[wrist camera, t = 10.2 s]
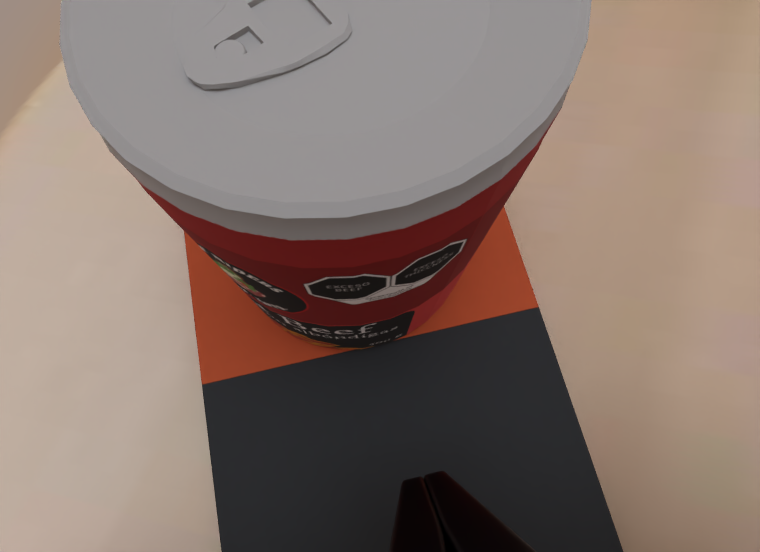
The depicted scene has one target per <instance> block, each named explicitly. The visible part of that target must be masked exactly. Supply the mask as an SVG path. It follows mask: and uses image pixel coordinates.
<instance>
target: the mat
mask: <svg viewBox="0 0 760 552" xmlns="http://www.w3.org/2000/svg"><path fill="white" fill-rule="evenodd" d="M202 388H203V397H204V405H205V414H206V422H207V431H208V439H209V448H210V456H211V465H212V473H213V482H214V490H215V499H216V507H217V516H218V524H219V533H220V542H221V550H222V552H389V549H390V544H391V538H392V533H393V527H394V522H395V516H396V511H397V505H398V500H399V494H400V489H401V484H402V482H403V481H404V480H407V479H411V478H415V477H419V476H421V477H422V478H423V479H424V476H425V475H427V474H430V473H434V472H438V471H444V472H446V473H447V474H448V475H449V476H451V477H452V478H453V479H454V480H455V481H456V482H457V483H459V484H460V485H461V486H462V487H463V488H464V489H465V490H467V491H468V492H469V493H470V494H471V495H472V496H473V497H475V498H476V499H477V500H478V501H479V502H480V503H481V504H483V505H484V506H485V507H486V508H487V509H488V510H490V511H491V512H492V513H493V514H494V515H495V516H496V517H498V518H499V519H500V520H501V521H502V522H503V523H504V524H506V525H507V526H508V527H509V528H510V529H511V530H512V531H514V532H515V533H516V534H517V535H518V536H519V537H520V538H522V539H523V540H524V541H525V542H526V543H527V544H528V545H530V546H531V547H532V548H533V549H534V550H535V551H536V552H623V550H622V547H621V544H620V541H619V538H618V535H617V532H616V529H615V526H614V524H613V521H612V518H611V515H610V512H609V509H608V506H607V503H606V500H605V498H604V495H603V492H602V489H601V486H600V483H599V480H598V477H597V474H596V471H595V469H594V466H593V463H592V460H591V457H590V454H589V451H588V448H587V445H586V443H585V440H584V437H583V434H582V431H581V428H580V425H579V422H578V419H577V417H576V414H575V411H574V408H573V405H572V402H571V399H570V396H569V393H568V390H567V388H566V385H565V382H564V379H563V376H562V373H561V370H560V367H559V364H558V362H557V359H556V356H555V353H554V350H553V347H552V344H551V341H550V338H549V336H548V333H547V330H546V327H545V324H544V321H543V318H542V315H541V312H540V310H539V307H537V308H532V309H528V310H524V311H519V312H515V313H511V314H506V315H502V316H498V317H493V318H489V319H485V320H480V321H476V322H472V323H467V324H463V325H459V326H455V327H450V328H446V329H442V330H437V331H433V332H429V333H424V334H420V335H416V336H411V337H407V338H403V339H398V340H394V341H391V342H389V343H387V344H383V345H378V346H374V347H369V348H365V349H355V350H351V351H346V352H342V353H338V354H333V355H329V356H325V357H320V358H316V359H312V360H307V361H303V362H299V363H294V364H290V365H286V366H281V367H277V368H273V369H268V370H264V371H260V372H255V373H251V374H247V375H242V376H238V377H234V378H229V379H225V380H221V381H216V382H212V383H208V384H203V385H202Z"/></svg>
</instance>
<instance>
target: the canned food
mask: <svg viewBox="0 0 760 552" xmlns="http://www.w3.org/2000/svg"><path fill="white" fill-rule="evenodd" d="M591 1H592V0H62V2H61V17H60V19H61V20H60V48H61V52H62V56H63V60H64V65H65V69H66V73H67V77H68V81H69V85H70V87H71V89H72V91H73V93H74V94H75V96H76V98H77V100H78V101H79V103H80V105H81V107H82V109H83V110H84V112H85V114H86V116H87V117H88V119H89V121H90V123H91V124H92V126H93V127H94V128H95V129H96V130H97V131H98V132H99V133H100V135H101V136H102V138H103V140H104V142H105V143H106V145H107V147H108V149H109V151H110V152H111V153H112V154H113V155H114V156H115V157H116V158H117V159H118V160H119V162H120V163H121V164H122V165H123V166H124V167H125V168H126V169H127V170H128V171H129V172H130V173H131V174H132V175H133V176H134V177H135V178H136V179H137V180H138V182H139V183H140V184H141V186H142V187H143V188H144V190H145V191H146V192H147V193H148V194H149V195H150V196H151V197H152V198H153V199H154V200H155V201H156V202H157V203H158V204H159V205H160V206H161V207H162V208H163V209H164V210H165V212H166V213H167V214H168V215H169V216H170V217H171V218H172V219H173V220H174V221H175V222H176V223H177V224H178V225H179V226H180V227H181V228H182V229H183V230H184V231H185V232H186V233H187V234H188V235H189V236H190V237H191V238H192V239H193V240H194V241H195V242H196V243H197V244H198V245H199V246H200V247H201V248H202V249H203V250H204V251H205V252H206V254H207V255H208V256H209V257H210V258H211V259H212V260H213V261H214V262H215V263H216V264H217V265H218V266H219V267H220V268H221V269H222V270H223V271H224V272H225V273H226V274H227V275H228V276H229V277H230V278H231V279H232V280H233V281H234V282H235V283H236V284H237V285H238V286H239V287H240V288H241V289H242V290H243V291H244V292H245V293H246V294H247V295H248V296H249V297H250V298H251V299H252V300H253V301H254V303H255V304H256V305H257V306H258V307H259V308H260V309H261V310H262V311H263V312H264V313H265V314H266V315H267V316H268V317H269V318H270V319H271V320H272V321H273V322H274V323H275V324H276V325H277V326H279V327H280V328H282V329H283V330H285V331H286V332H288V333H289V334H291V335H292V336H294V337H295V338H298V339H301V340H303V341H306V342H308V343H311V344H313V345H316V346H321V347H327V348H333V349H338V350H343V349H365V348H369V347H374V346H378V345H383V344H387V343H389V342H391V341H394V340H396V339H398V338H400V337H403V336H405V335H407V334H409V333H410V332H412V331H413V330H415V329H416V328H418V327H419V326H421V325H422V324H423V323H425V322H426V321H427V320H428V319H429V318H430V317H431V316H432V315H433V314H434V313H435V312H436V311H437V310H438V309H439V308H440V307H441V306H442V305H443V303H444V302H445V300H446V299H447V297H448V296H449V294H450V293H451V291H452V290H453V288H454V287H455V285H456V283H457V282H458V280H459V279H460V277H461V275H462V274H463V272H464V270H465V269H466V267H467V265H468V264H469V262H470V260H471V259H472V257H473V256H474V254H475V252H476V251H477V249H478V247H479V246H480V244H481V242H482V241H483V239H484V238H485V236H486V234H487V233H488V231H489V229H490V228H491V226H492V224H493V223H494V221H495V220H496V218H497V216H498V215H499V213H500V211H501V210H502V208H503V206H504V205H505V203H506V201H507V200H508V198H509V197H510V195H511V193H512V192H513V190H514V188H515V187H516V185H517V183H518V182H519V180H520V179H521V177H522V175H523V174H524V172H525V170H526V169H527V167H528V165H529V164H530V162H531V161H532V159H533V157H534V156H535V154H536V152H537V151H538V149H539V147H540V144H541V142H542V140H543V138H544V136H545V135H546V133H547V131H548V130H549V128H550V126H551V125H552V123H553V121H554V120H555V118H556V116H557V115H558V113H559V111H560V110H561V108H562V105H563V102H564V100H565V97H566V94H567V91H568V89H569V86H570V84H571V82H572V80H573V78H574V75H575V72H576V70H577V67H578V64H579V62H580V59H581V56H582V53H583V51H584V48H585V45H586V43H587V40H588V30H589V20H590V10H591Z"/></svg>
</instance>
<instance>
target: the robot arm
mask: <svg viewBox="0 0 760 552" xmlns="http://www.w3.org/2000/svg"><path fill="white" fill-rule="evenodd" d="M389 552H536V551H535V550H534V549H533V548H532V547H531V546H530V545H528V544H527V543H526V542H525V541H524V540H523V539H522V538H520V537H519V536H518V535H517V534H516V533H515V532H514V531H512V530H511V529H510V528H509V527H508V526H507V525H506V524H504V523H503V522H502V521H501V520H500V519H499V518H498V517H496V516H495V515H494V514H493V513H492V512H491V511H490V510H488V509H487V508H486V507H485V506H484V505H483V504H481V503H480V502H479V501H478V500H477V499H476V498H475V497H473V496H472V495H471V494H470V493H469V492H468V491H467V490H465V489H464V488H463V487H462V486H461V485H460V484H459V483H457V482H456V481H455V480H454V479H453V478H452V477H451V476H449V475H448V474H447V473H446V472H444V471H438V472H434V473H430V474H427V475H425V476H424V479H423V478H422V477H421V476H419V477H415V478H411V479H407V480H404V481H403V482H402V484H401V489H400V494H399V500H398V505H397V511H396V516H395V522H394V527H393V533H392V538H391V544H390V549H389Z"/></svg>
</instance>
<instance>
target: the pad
mask: <svg viewBox="0 0 760 552" xmlns="http://www.w3.org/2000/svg"><path fill="white" fill-rule="evenodd" d="M184 235H185V244H186V252H187V261H188V269H189V278H190V286H191V295H192V303H193V312H194V320H195V329H196V337H197V346H198V354H199V363H200V371H201V380H202V385H203V384H208V383H212V382H216V381H221V380H225V379H229V378H234V377H238V376H242V375H247V374H251V373H255V372H260V371H264V370H268V369H273V368H277V367H281V366H286V365H290V364H294V363H299V362H303V361H307V360H312V359H316V358H320V357H325V356H329V355H333V354H338V353H342V352H346V351H351V350H355V349H343V350H338V349H333V348H327V347H321V346H316V345H313V344H311V343H308V342H306V341H303V340H301V339H298V338H295V337H294V336H292V335H291V334H289V333H288V332H286V331H285V330H283V329H282V328H280V327H279V326H277V325H276V324H275V323H274V322H273V321H272V320H271V319H270V318H269V317H268V316H267V315H266V314H265V313H264V312H263V311H262V310H261V309H260V308H259V307H258V306H257V305H256V304H255V303H254V301H253V300H252V299H251V298H250V297H249V296H248V295H247V294H246V293H245V292H244V291H243V290H242V289H241V288H240V287H239V286H238V285H237V284H236V283H235V282H234V281H233V280H232V279H231V278H230V277H229V276H228V275H227V274H226V273H225V272H224V271H223V270H222V269H221V268H220V267H219V266H218V265H217V264H216V263H215V262H214V261H213V260H212V259H211V258H210V257H209V256H208V255H207V254H206V252H205V251H204V250H203V249H202V248H201V247H200V246H199V245H198V244H197V243H196V242H195V241H194V240H193V239H192V238H191V237H190V236H189V235H188V234H187V233H186V232H185V231H184ZM537 307H538V304H537V301H536V298H535V295H534V292H533V289H532V287H531V284H530V281H529V278H528V275H527V272H526V269H525V266H524V263H523V260H522V258H521V255H520V252H519V249H518V246H517V243H516V240H515V237H514V234H513V232H512V229H511V226H510V223H509V220H508V217H507V214H506V211H505V208H504V206H503V208H502V210H501V211H500V213H499V215H498V216H497V218H496V220H495V221H494V223H493V224H492V226H491V228H490V229H489V231H488V233H487V234H486V236H485V238H484V239H483V241H482V242H481V244H480V246H479V247H478V249H477V251H476V252H475V254H474V256H473V257H472V259H471V260H470V262H469V264H468V265H467V267H466V269H465V270H464V272H463V274H462V275H461V277H460V279H459V280H458V282H457V283H456V285H455V287H454V288H453V290H452V291H451V293H450V294H449V296H448V297H447V299H446V300H445V302H444V303H443V305H442V306H441V307H440V308H439V309H438V310H437V311H436V312H435V313H434V314H433V315H432V316H431V317H430V318H429V319H428V320H427V321H426V322H425V323H423V324H422V325H421V326H419V327H418V328H416V329H415V330H413V331H412V332H410V333H409V334H407V335H405V336H403V337H400V338H398V339H403V338H407V337H411V336H416V335H420V334H424V333H429V332H433V331H437V330H442V329H446V328H450V327H455V326H459V325H463V324H467V323H472V322H476V321H480V320H485V319H489V318H493V317H498V316H502V315H506V314H511V313H515V312H519V311H524V310H528V309H532V308H537ZM398 339H396V340H398Z"/></svg>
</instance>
